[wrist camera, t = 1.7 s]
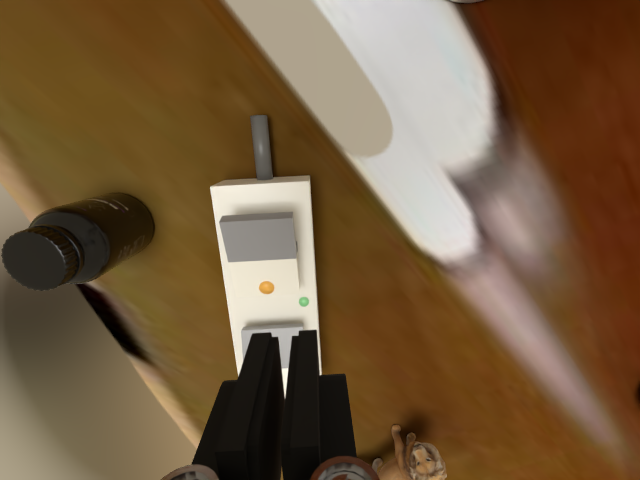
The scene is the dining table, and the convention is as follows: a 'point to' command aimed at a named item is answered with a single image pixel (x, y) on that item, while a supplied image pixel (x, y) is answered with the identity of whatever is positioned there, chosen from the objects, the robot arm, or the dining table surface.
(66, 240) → the supplement bottle
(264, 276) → the rocker
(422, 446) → the lion figurine
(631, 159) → the dining table surface
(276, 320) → the strip
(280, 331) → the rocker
